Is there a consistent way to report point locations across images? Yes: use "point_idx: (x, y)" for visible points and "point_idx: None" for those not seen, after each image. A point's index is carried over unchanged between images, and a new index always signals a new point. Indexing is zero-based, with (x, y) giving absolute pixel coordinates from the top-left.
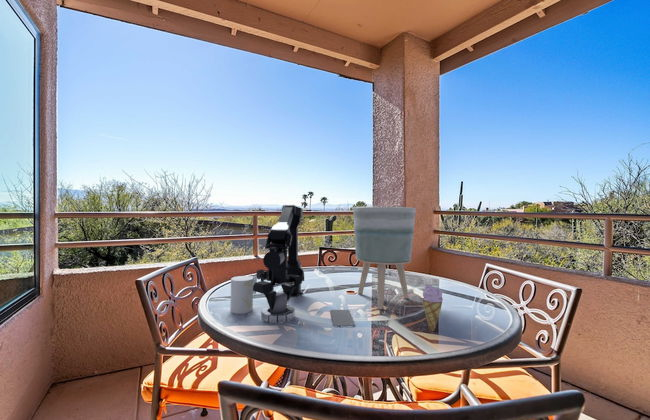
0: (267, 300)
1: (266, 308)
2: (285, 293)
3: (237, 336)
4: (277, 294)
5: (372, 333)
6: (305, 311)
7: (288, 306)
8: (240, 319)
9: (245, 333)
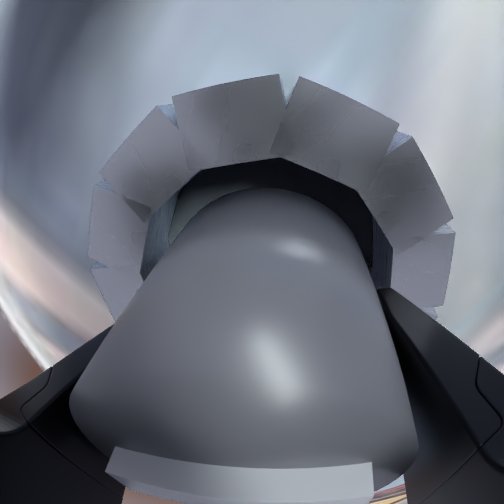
0: (57, 370)
1: (169, 151)
2: (391, 477)
3: (8, 309)
4: (183, 495)
5: (391, 488)
6: (500, 292)
7: (431, 274)
8: (16, 114)
9: (28, 311)
